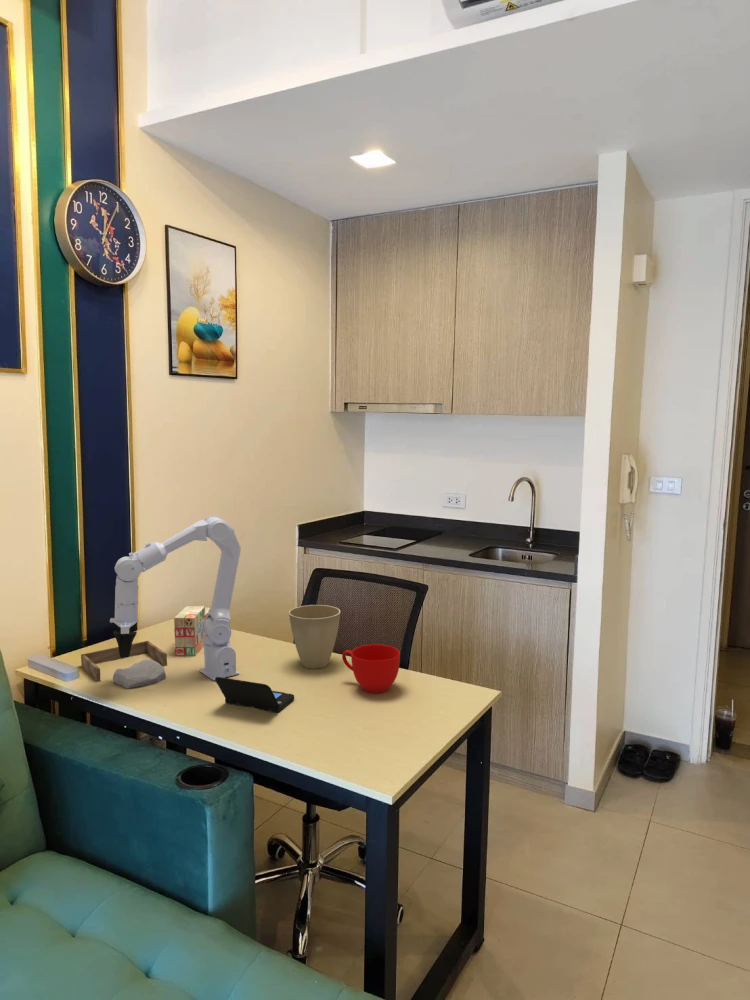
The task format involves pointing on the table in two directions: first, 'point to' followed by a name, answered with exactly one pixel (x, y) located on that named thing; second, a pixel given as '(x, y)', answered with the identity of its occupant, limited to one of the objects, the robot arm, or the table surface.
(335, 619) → the plant pot
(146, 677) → the stone block
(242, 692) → the game console
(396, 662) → the ceramic cup
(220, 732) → the table surface
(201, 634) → the stack of blocks
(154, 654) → the box
